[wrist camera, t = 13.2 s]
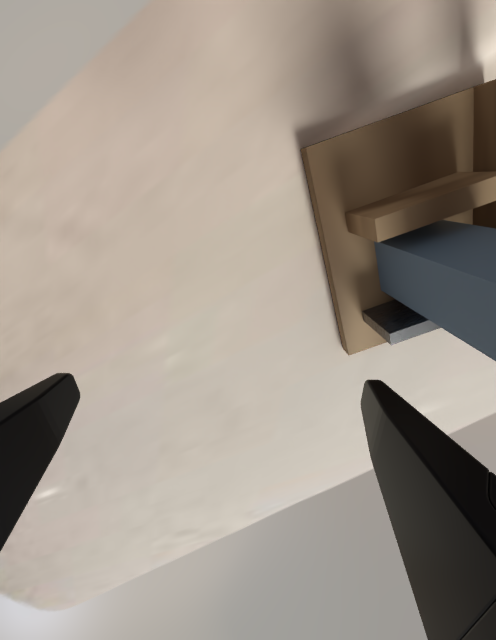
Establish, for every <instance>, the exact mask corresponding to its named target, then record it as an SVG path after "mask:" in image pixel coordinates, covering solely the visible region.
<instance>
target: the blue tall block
mask: <svg viewBox="0 0 496 640" xmlns="http://www.w3.org/2000/svg"><path fill="white" fill-rule="evenodd" d="M374 245H375V252H376V259H377V266H378V273H379V280H380V287H381V291H383V292H385V293H386V294H388V295H390V296H391V297H393V298H394V299H396V300H398V301H399V302H401V303H402V304H404V305H406V306H407V307H409V308H411V309H412V310H414V311H415V312H417V313H419V314H420V315H422V316H424V317H425V318H427V319H428V320H430V321H432V322H433V323H435V324H436V325H438V326H440V327H441V328H443V329H445V330H446V331H448V332H449V333H451V334H453V335H454V336H456V337H458V338H459V339H461V340H462V341H464V342H466V343H467V344H469V345H470V346H472V347H474V348H475V349H477V350H479V351H480V352H482V353H483V354H485V355H487V356H488V357H490V358H492V359H493V360H495V361H496V229H495V228H489V227H483V226H477V225H471V224H465V223H459V222H453V221H447V220H440V221H437V222H434V223H432V224H429V225H426V226H423V227H420V228H418V229H415V230H412V231H409V232H406V233H403V234H401V235H398V236H395V237H392V238H389V239H387V240H384V241H381V242H375V241H374Z"/></svg>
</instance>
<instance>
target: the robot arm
mask: <svg viewBox="0 0 496 640" xmlns="http://www.w3.org/2000/svg"><path fill="white" fill-rule="evenodd" d="M79 400H80V392H79V389H78V387H77V384H76V382H75V379H74V377H73V375H72V374H70V373H57V374H54V375H53V376H51V377H49V378H47V379H45V380H43V381H41V382H39V383H37V384H35V385H33V386H31V387H30V388H28V389H26V390H24V391H22V392H20V393H18V394H16V395H14V396H12V397H10V398H9V399H7V400H5V401H3V402H1V403H0V551H1V550H2V548H3V546H4V544H5V542H6V541H7V539H8V537H9V535H10V534H11V532H12V530H13V528H14V526H15V525H16V523H17V521H18V519H19V517H20V516H21V514H22V512H23V510H24V508H25V507H26V505H27V503H28V501H29V499H30V498H31V496H32V494H33V492H34V491H35V489H36V487H37V485H38V483H39V482H40V480H41V478H42V476H43V474H44V473H45V471H46V469H47V467H48V465H49V464H50V462H51V460H52V458H53V456H54V455H55V453H56V451H57V449H58V447H59V445H60V443H61V441H62V439H63V437H64V435H65V432H66V430H67V428H68V425H69V423H70V421H71V418H72V416H73V414H74V412H75V409H76V407H77V405H78V402H79ZM361 410H362V415H363V420H364V426H365V431H366V436H367V441H368V447H369V451H370V456H371V460H372V463H373V467H374V470H375V473H376V476H377V479H378V483H379V486H380V489H381V492H382V495H383V499H384V501H385V505H386V508H387V511H388V514H389V518H390V521H391V524H392V527H393V530H394V534H395V536H396V540H397V543H398V546H399V549H400V553H401V556H402V559H403V562H404V565H405V568H406V571H407V575H408V578H409V581H410V584H411V587H412V590H413V594H414V597H415V600H416V603H417V606H418V610H419V613H420V616H421V619H422V622H423V626H424V629H425V632H426V635H427V638H428V640H496V475H495V474H494V473H492V472H489V470H488V469H487V468H486V467H485V466H484V465H482V464H481V463H480V462H479V461H478V460H476V459H475V458H474V457H473V456H472V455H470V454H469V453H468V452H467V451H466V450H464V449H463V448H462V447H461V446H460V445H458V444H457V443H456V442H455V441H454V440H452V439H451V438H450V437H449V436H448V435H446V434H445V433H444V432H443V431H441V430H440V429H439V428H438V427H437V426H435V425H434V424H433V423H432V422H431V421H429V420H428V419H427V418H426V417H425V416H423V415H422V414H421V413H420V412H419V411H417V410H416V409H415V408H414V407H413V406H411V405H410V404H409V403H408V402H407V401H405V400H404V399H403V398H402V397H400V396H399V395H398V394H397V393H396V392H394V391H393V390H392V389H391V388H390V387H388V386H387V385H386V384H385V383H384V382H382V381H381V380H367V381H365V384H364V388H363V393H362V398H361Z"/></svg>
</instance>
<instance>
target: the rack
mask: <svg viewBox="0 0 496 640" xmlns="http://www.w3.org/2000/svg"><path fill="white" fill-rule="evenodd" d="M301 153H302V158H303V163H304V167H305V172H306V177H307V181H308V186H309V191H310V195H311V200H312V205H313V209H314V214H315V219H316V224H317V228H318V233H319V238H320V242H321V247H322V252H323V256H324V261H325V266H326V270H327V275H328V280H329V284H330V289H331V294H332V299H333V303H334V308H335V313H336V317H337V322H338V327H339V331H340V336H341V341H342V345H343V349H344V350H345V351H346V353H347V354H348V355H352V354H354V353H357V352H360V351H363V350H366V349H369V348H371V347H374V346H377V345H380V344H383V343H386V342H388V343H389V344H390V345H393V344H396V343H399V342H401V341H404V340H407V339H410V338H413V337H416V336H418V335H421V334H424V333H427V332H430V331H433V330H436V329H438V328H441V327H440V326H438V325H436V324H435V323H433V322H432V321H430V320H428V319H427V318H425V317H424V316H422V315H420V314H419V313H417V312H415V311H414V310H412V309H411V308H409V307H407V306H406V305H404V304H402V303H401V302H399V301H398V300H396V299H394V298H393V297H391V296H390V295H388V294H386V293H385V292H383V291H381V287H380V280H379V273H378V266H377V259H376V252H375V245H374V241H375V242H381V241H384V240H387V239H389V238H392V237H395V236H398V235H401V234H403V233H406V232H409V231H412V230H415V229H418V228H420V227H423V226H426V225H429V224H432V223H434V222H437V221H440V220H447V221H453V222H459V223H465V224H471V225H477V226H483V227H489V228H495V229H496V79H495V80H492V81H489V82H486V83H483V84H481V85H478V86H475V87H472V88H469V89H467V90H464V91H461V92H458V93H456V94H453V95H450V96H447V97H444V98H442V99H439V100H436V101H433V102H431V103H428V104H425V105H422V106H419V107H417V108H414V109H411V110H408V111H406V112H403V113H400V114H397V115H394V116H392V117H389V118H386V119H383V120H381V121H378V122H375V123H372V124H369V125H367V126H364V127H361V128H358V129H355V130H353V131H350V132H347V133H344V134H342V135H339V136H336V137H333V138H330V139H328V140H325V141H322V142H319V143H317V144H314V145H311V146H308V147H305V148H303V149H301Z"/></svg>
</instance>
